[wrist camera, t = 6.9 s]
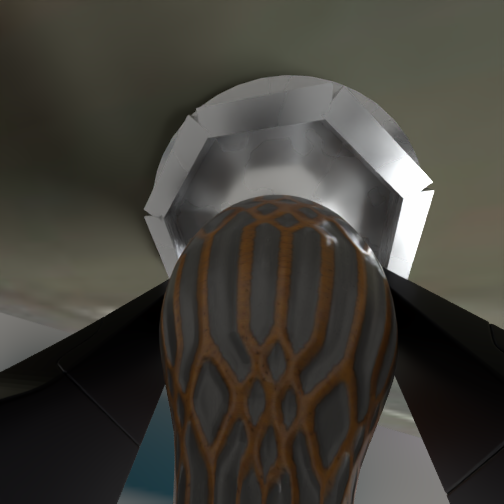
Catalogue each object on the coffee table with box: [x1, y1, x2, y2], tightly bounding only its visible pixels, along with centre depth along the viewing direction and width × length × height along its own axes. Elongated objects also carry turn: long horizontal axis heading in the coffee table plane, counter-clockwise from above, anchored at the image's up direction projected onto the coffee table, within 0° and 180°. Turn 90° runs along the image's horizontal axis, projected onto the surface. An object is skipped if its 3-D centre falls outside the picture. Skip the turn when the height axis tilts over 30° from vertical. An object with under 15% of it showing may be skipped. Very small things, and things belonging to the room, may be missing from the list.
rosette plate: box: [144, 75, 434, 279], centre depth 11 cm, size 14×14×2 cm
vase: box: [159, 195, 398, 504], centre depth 7 cm, size 7×7×9 cm
